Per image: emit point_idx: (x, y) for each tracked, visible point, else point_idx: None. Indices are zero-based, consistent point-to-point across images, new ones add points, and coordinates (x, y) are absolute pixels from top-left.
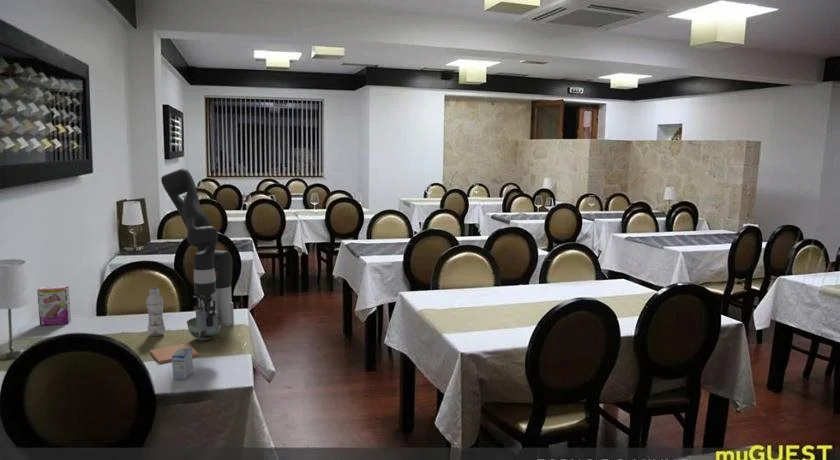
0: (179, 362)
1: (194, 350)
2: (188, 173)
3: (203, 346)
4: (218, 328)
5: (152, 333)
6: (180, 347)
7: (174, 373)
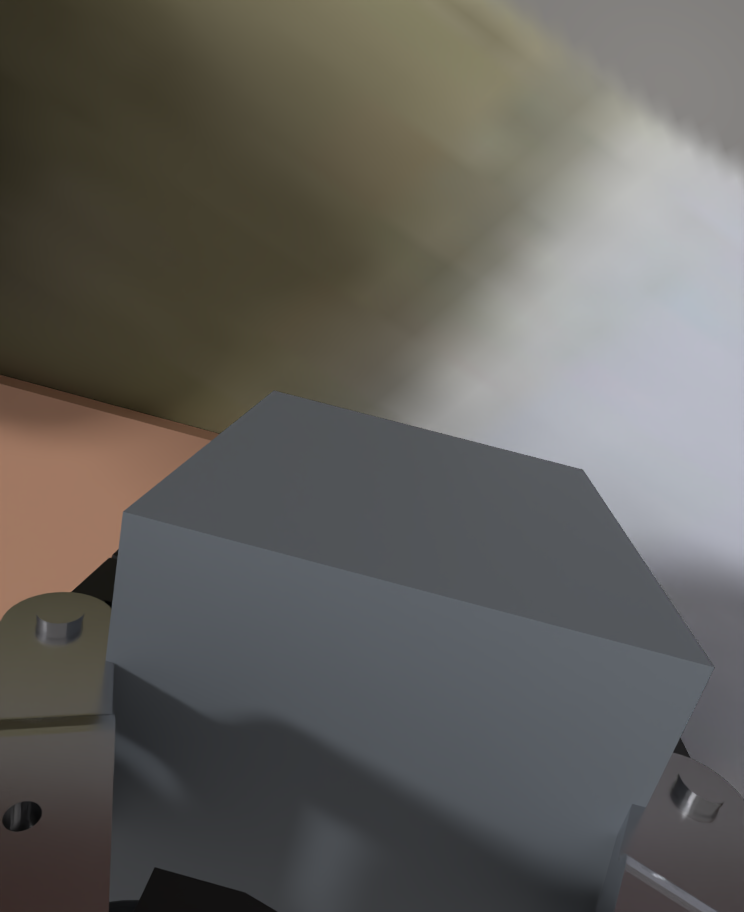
0: None
1: (192, 445)
2: None
3: (84, 277)
4: None
5: None
6: (27, 482)
7: None
